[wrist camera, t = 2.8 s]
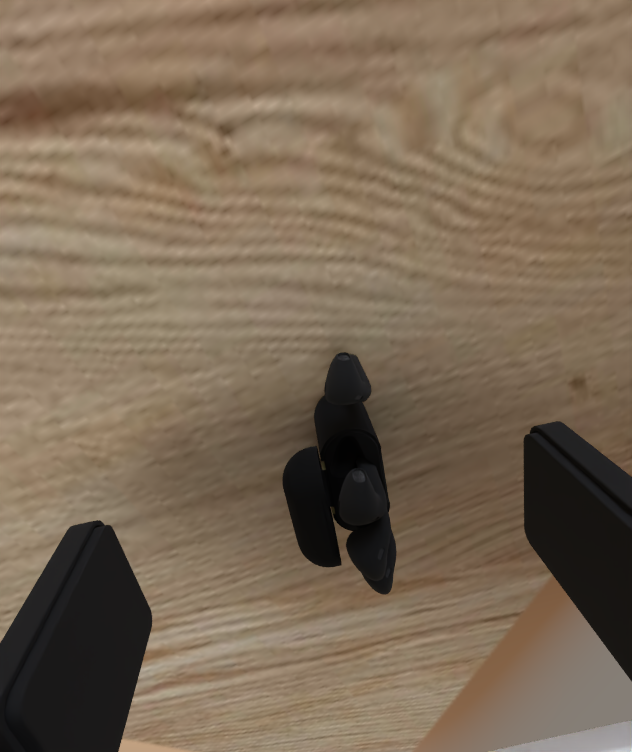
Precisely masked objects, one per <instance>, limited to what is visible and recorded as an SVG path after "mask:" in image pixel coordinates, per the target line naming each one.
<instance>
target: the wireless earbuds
mask: <svg viewBox="0 0 632 752" xmlns="http://www.w3.org/2000/svg"><path fill="white" fill-rule="evenodd" d="M370 394H371V385H370V383H369V380H368V378H367V376H366V374H365V372H364V370H363V368H362V366H361V364H360V362H359V360H358V357H357V356H356V355H354V354H348V353H339V354H337V355H336V356H335V358H334V359H333V361H332V363H331V365H330V368H329V371H328V374H327V378H326V382H325V396H323V397H322V398H321V399H320V401H319V402H318V404H317V406H316V409H315V413H314V421H315V427H316V433H317V439H318V446H319V452H320V458H321V462H320V458H319V454H318V450H317V446H313V447H309V448H305V449H303V450H301V451H299V452H297V453H296V454H295V455H294V456H293V457H291V459H290V460H289V461H288V463H287V465H286V466H285V469H284V473H283V489H284V493H285V496H286V500H287V504H288V508H289V511H290V515H291V519H292V523H293V527H294V530H295V534H296V538H297V542H298V545H299V547H300V550H301V551H302V553H303V555H304V556H305V557H306V558H307V559H308V560H309V561H311V562H312V563H314V564H316V565H318V566H322V567H335V566H340V565H341V558H340V552H339V547H338V542H337V536H336V531H335V526H334V522H333V517H334V519H335V520H336V522H337V523H338V524H339V525H340V526H341V527H343V528H345V529H347V530H351V531H353V532H352V533H351V534H350V535H349V537H348V539H347V542H346V547H347V551H348V554H349V556H350V558H351V560H352V562H353V563H354V565H355V566H356V567H357V568H358V570H359V571H360V572H361V573H362V575H363V577H364V579H365V580H366V581H367V583H368V584H369V585H370V586H371V587H372V588H373V589H374V590H375V591H376V592H378V593H380V594H388V593H389V592H390V591H391V588H392V583H393V573H394V567H395V561H396V544H395V539H394V536H393V533H392V530H391V524H390V518H389V514H388V512H389V508H390V502H389V498H388V492H387V485H386V479H385V473H384V466H383V460H382V453H381V446H380V443H379V441H378V438H377V436H376V433H375V431H374V428H373V426H372V423H371V421H370V419H369V416H368V414H367V411H366V409H365V406H364V405H363V403H362V402H363V401H366V400H367V399H368V398H369V396H370ZM321 464H322V467H321ZM330 507H331V508H330ZM331 509H332V512H331ZM332 514H333V517H332Z"/></svg>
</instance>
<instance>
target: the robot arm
mask: <svg viewBox="0 0 632 752" xmlns="http://www.w3.org/2000/svg"><path fill="white" fill-rule="evenodd" d="M524 529H525V534H526V537H527V539H528V541H529V543H530V544H531V546H532V547H533V549H534V550H535V551H536V553H537V554H538V555H539V557H540V558H541V559H542V561H543V562H544V564H545V565H546V566H547V568H548V569H549V570H550V572H551V573H552V574H553V576H554V577H555V578H556V580H557V581H558V582H559V584H560V585H561V586H562V588H563V589H564V591H565V592H566V593H567V595H568V596H569V597H570V599H571V600H572V601H573V603H574V604H575V605H576V607H577V608H578V609H579V611H580V612H581V613H582V615H583V616H584V618H585V619H586V620H587V621H588V623H589V624H590V626H591V627H592V628H593V630H594V631H595V632H596V634H597V635H598V636H599V638H600V639H601V640H602V642H603V643H604V645H605V646H606V647H607V649H608V650H609V651H610V653H611V654H612V655H613V656H614V658H615V659H616V661H617V662H618V663H619V665H620V666H621V668H622V669H623V670H624V672H625V673H626V674H627V676H628V677H629V678H630V680H631V681H632V477H631V476H630V475H628V474H627V473H626V472H625V471H623V470H622V469H621V468H620V467H618V466H617V465H616V464H614V463H613V462H612V461H611V460H609V459H608V458H607V457H606V456H604V455H603V454H602V453H600V452H599V451H598V450H597V449H595V448H594V447H593V446H592V445H590V444H589V443H588V442H587V441H585V440H584V439H583V438H581V437H580V436H579V435H578V434H576V433H575V432H574V431H573V430H571V429H570V428H569V427H567V426H566V425H565V424H564V423H562V422H559V421H556V422H552V423H547V424H542V425H538V426H534V427H532V428H531V430H530V434H527V435H525V437H524ZM151 627H152V614H151V610H150V607H149V605H148V603H147V601H146V599H145V597H144V595H143V592H142V590H141V588H140V586H139V584H138V582H137V579H136V577H135V575H134V573H133V571H132V569H131V567H130V564H129V562H128V560H127V558H126V556H125V554H124V551H123V549H122V547H121V545H120V543H119V541H118V539H117V536H116V534H115V532H114V530H113V528H112V527H111V526H110V525H104V524H103V523H102V522H101V521H98V520H97V521H92V522H87V523H83V524H78V525H73V526H71V527H70V528H69V529H68V530H67V532H66V533H65V535H64V537H63V539H62V540H61V542H60V544H59V545H58V547H57V549H56V550H55V552H54V554H53V555H52V557H51V559H50V560H49V562H48V564H47V565H46V567H45V569H44V571H43V572H42V574H41V576H40V577H39V579H38V581H37V582H36V584H35V586H34V587H33V589H32V591H31V592H30V594H29V596H28V597H27V599H26V601H25V603H24V604H23V606H22V608H21V609H20V611H19V613H18V614H17V616H16V618H15V619H14V621H13V623H12V624H11V626H10V628H9V630H8V631H7V633H6V635H5V636H4V638H3V640H2V641H1V643H0V752H118V751H119V747H120V743H121V739H122V736H123V732H124V728H125V725H126V721H127V717H128V713H129V710H130V706H131V702H132V698H133V695H134V691H135V687H136V684H137V680H138V676H139V672H140V669H141V665H142V661H143V657H144V654H145V650H146V646H147V643H148V639H149V635H150V631H151ZM488 752H632V720H630V721H625V722H620V723H615V724H610V725H606V726H601V727H597V728H592V729H588V730H583V731H578V732H574V733H570V734H565V735H561V736H556V737H552V738H547V739H543V740H538V741H534V742H529V743H524V744H520V745H516V746H511V747H506V748H502V749H497V750H493V751H488Z"/></svg>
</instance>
